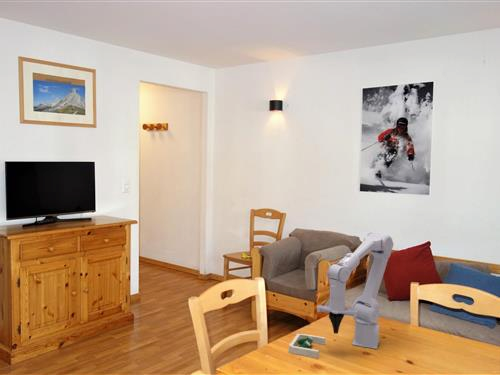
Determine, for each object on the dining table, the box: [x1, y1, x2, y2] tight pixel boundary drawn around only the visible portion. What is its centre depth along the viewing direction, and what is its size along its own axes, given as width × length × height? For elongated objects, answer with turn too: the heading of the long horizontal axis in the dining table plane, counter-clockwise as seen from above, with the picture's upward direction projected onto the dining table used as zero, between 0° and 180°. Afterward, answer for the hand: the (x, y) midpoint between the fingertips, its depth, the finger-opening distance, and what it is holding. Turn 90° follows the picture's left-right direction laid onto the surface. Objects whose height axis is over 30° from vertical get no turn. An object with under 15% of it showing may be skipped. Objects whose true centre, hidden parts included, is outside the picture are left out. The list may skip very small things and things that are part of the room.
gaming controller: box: [297, 336, 313, 349], centre depth 173 cm, size 9×4×6 cm
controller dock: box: [288, 333, 326, 359], centre depth 173 cm, size 11×14×2 cm
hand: (336, 332), depth 169 cm, fingers closed
